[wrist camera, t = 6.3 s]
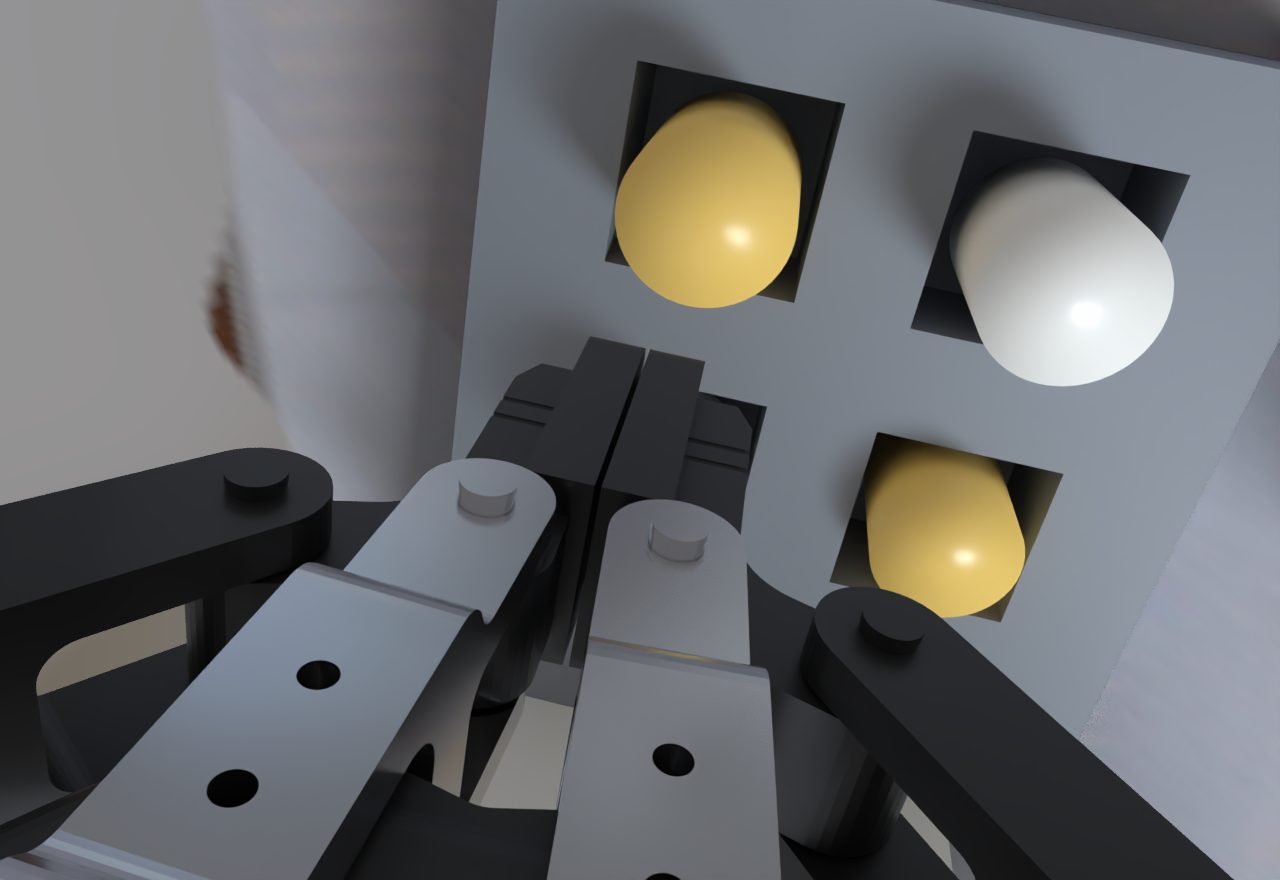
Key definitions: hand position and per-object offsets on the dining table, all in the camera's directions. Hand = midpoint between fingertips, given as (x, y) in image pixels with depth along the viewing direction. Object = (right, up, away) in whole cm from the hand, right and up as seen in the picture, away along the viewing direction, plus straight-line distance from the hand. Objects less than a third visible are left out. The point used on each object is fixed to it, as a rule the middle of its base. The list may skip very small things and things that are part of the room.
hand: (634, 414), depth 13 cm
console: (+5, +1, +19) cm, 20 cm away
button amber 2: (+2, +7, +14) cm, 15 cm away
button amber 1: (+9, -1, +19) cm, 21 cm away
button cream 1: (+10, +5, +13) cm, 17 cm away
